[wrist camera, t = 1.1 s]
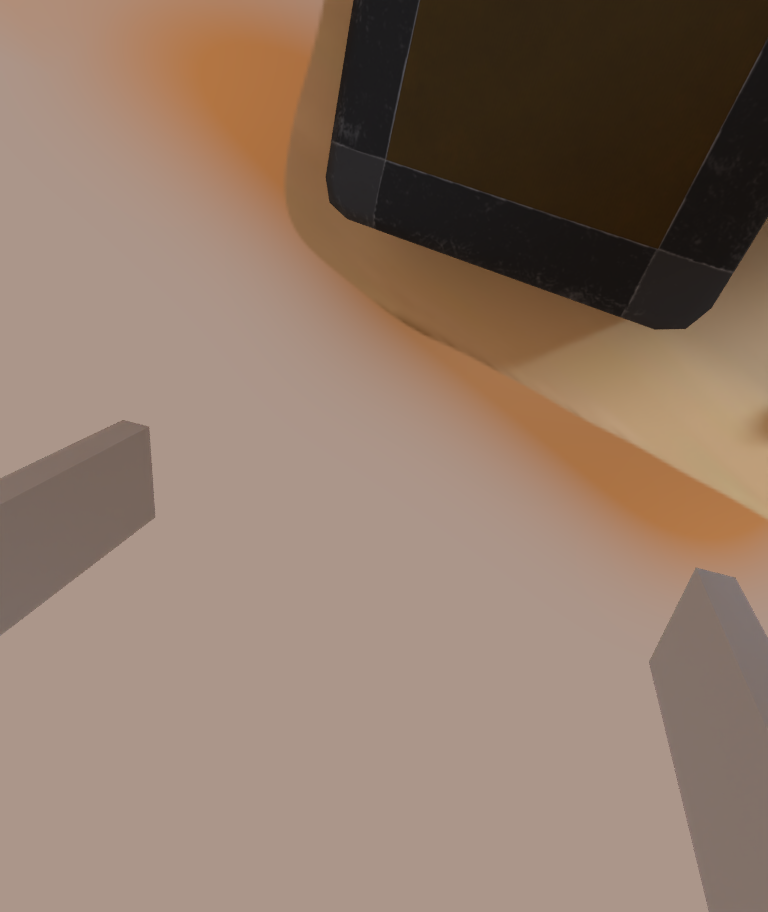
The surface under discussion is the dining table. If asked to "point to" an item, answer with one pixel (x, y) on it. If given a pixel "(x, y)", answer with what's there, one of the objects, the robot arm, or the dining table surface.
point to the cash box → (562, 142)
